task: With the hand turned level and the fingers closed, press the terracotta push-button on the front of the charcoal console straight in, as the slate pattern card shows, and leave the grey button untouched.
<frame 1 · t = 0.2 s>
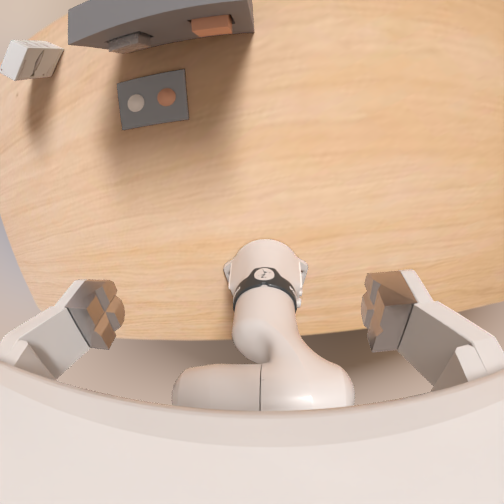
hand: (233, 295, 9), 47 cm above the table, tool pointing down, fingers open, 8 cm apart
console: (187, 25, 39), on the table
grey button: (129, 40, 32), point 11 cm above the table, slide at 0.0 cm
pattern card: (151, 99, 47), on the table
supplement box: (49, 58, 40), on the table
button terracotta: (212, 23, 31), point 11 cm above the table, slide at 0.0 cm
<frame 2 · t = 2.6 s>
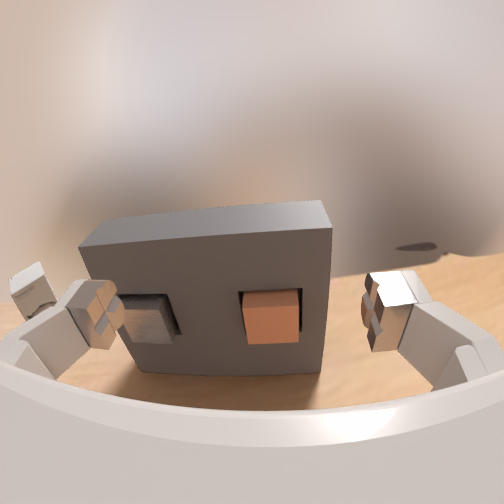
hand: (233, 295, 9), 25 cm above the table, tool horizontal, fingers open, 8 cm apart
console: (227, 358, 37), on the table
grey button: (148, 317, 29), point 11 cm above the table, slide at 0.0 cm
supplement box: (57, 332, 43), on the table
button terracotta: (271, 315, 28), point 11 cm above the table, slide at 0.0 cm
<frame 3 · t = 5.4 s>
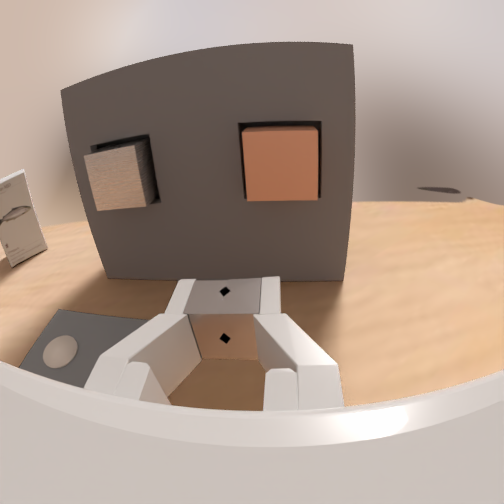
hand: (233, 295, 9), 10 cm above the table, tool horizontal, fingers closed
console: (219, 263, 30), on the table
grey button: (122, 174, 22), point 11 cm above the table, slide at 0.0 cm
pattern card: (90, 362, 19), on the table
supplement box: (29, 252, 36), on the table
button terracotta: (281, 161, 20), point 11 cm above the table, slide at 0.0 cm
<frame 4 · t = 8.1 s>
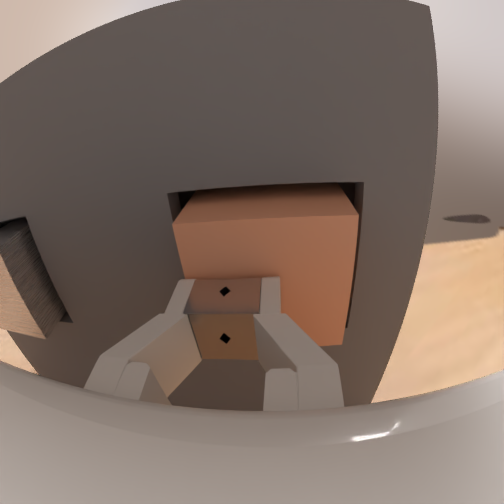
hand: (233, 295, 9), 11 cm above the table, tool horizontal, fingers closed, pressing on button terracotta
console: (185, 377, 19), on the table
grey button: (12, 277, 11), point 11 cm above the table, slide at 0.0 cm
button terracotta: (270, 267, 10), point 11 cm above the table, slide at 0.5 cm, touching gripper
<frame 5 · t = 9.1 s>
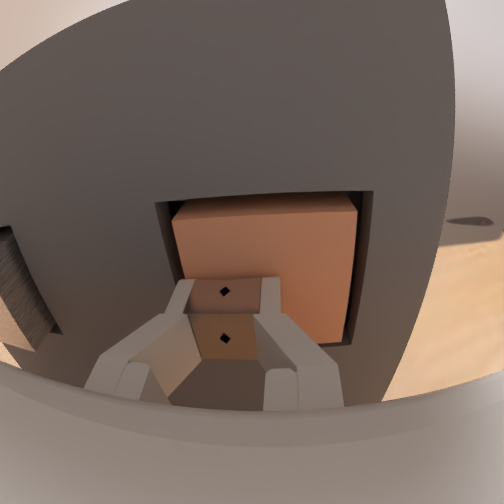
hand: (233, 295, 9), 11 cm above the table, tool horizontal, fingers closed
console: (181, 388, 18), on the table
grey button: (0, 287, 10), point 11 cm above the table, slide at 0.0 cm
button terracotta: (269, 264, 10), point 11 cm above the table, slide at 1.6 cm
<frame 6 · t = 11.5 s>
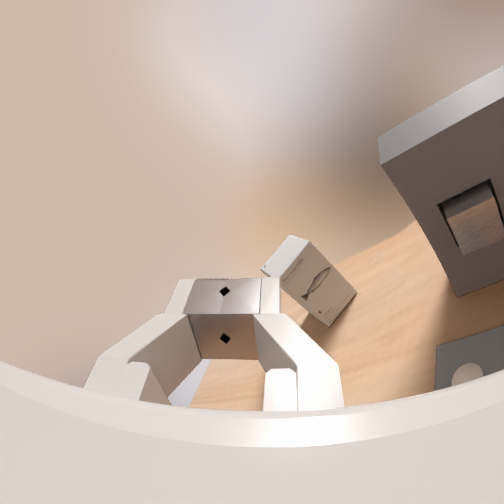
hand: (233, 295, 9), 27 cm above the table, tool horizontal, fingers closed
grey button: (474, 217, 20), point 11 cm above the table, slide at 0.0 cm
pattern card: (495, 373, 18), on the table
supplement box: (333, 303, 46), on the table
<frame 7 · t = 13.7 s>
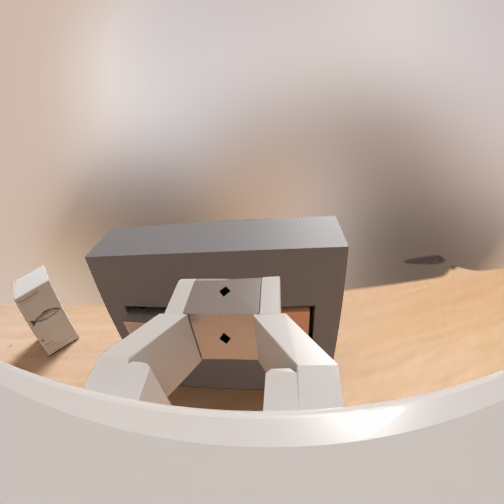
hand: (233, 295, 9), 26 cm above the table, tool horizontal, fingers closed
console: (234, 370, 36), on the table
grey button: (156, 330, 28), point 11 cm above the table, slide at 0.0 cm
supplement box: (60, 337, 42), on the table
button terracotta: (282, 320, 28), point 11 cm above the table, slide at 1.6 cm
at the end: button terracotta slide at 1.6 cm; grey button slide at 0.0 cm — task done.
